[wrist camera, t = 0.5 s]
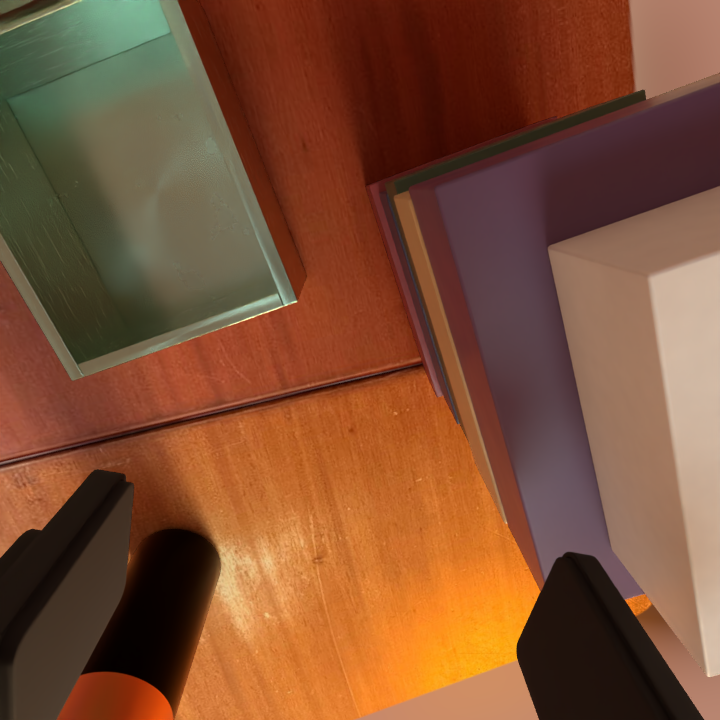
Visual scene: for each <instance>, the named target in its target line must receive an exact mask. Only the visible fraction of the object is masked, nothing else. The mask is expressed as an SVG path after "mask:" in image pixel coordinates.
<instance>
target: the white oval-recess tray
mask: <svg viewBox="0 0 720 720" xmlns="http://www.w3.org/2000/svg"><path fill="white" fill-rule="evenodd" d="M548 253H549V258H550V262H551V267H552V272H553V276H554V281H555V286H556V290H557V295H558V300H559V304H560V309H561V314H562V318H563V323H564V328H565V333H566V337H567V342H568V347H569V351H570V356H571V361H572V365H573V370H574V375H575V379H576V384H577V389H578V393H579V398H580V403H581V408H582V412H583V417H584V422H585V426H586V431H587V436H588V440H589V445H590V450H591V454H592V459H593V464H594V468H595V473H596V478H597V482H598V487H599V492H600V497H601V501H602V506H603V511H604V515H605V520H606V525H607V529H608V534H609V539H610V543H611V548H612V550H613V552H614V553H615V554H616V556H617V557H618V558H619V560H620V561H621V562H622V564H623V565H624V566H625V568H626V569H627V570H628V572H629V573H630V574H631V576H632V577H633V578H634V580H635V581H636V582H637V584H638V585H639V586H640V588H641V589H642V590H643V592H644V593H645V594H646V596H647V597H648V598H649V600H650V601H651V602H652V604H653V605H654V606H655V608H656V609H657V610H658V612H659V613H660V614H661V616H662V617H663V618H664V619H665V621H666V622H667V624H668V625H669V626H670V628H671V629H672V630H673V631H674V633H675V634H676V636H677V637H678V638H679V640H680V641H681V642H682V644H683V645H684V646H685V647H686V649H687V650H688V652H689V653H690V654H691V656H692V657H693V658H694V660H695V661H696V662H697V664H698V665H699V666H700V668H701V669H702V670H703V672H704V673H705V674H706V675H707V676H708V677H711V676H715V675H719V674H720V186H718V187H715V188H713V189H710V190H707V191H704V192H701V193H698V194H695V195H693V196H690V197H687V198H684V199H681V200H678V201H675V202H672V203H670V204H667V205H664V206H661V207H658V208H655V209H652V210H650V211H647V212H644V213H641V214H638V215H635V216H632V217H630V218H627V219H624V220H621V221H618V222H615V223H612V224H609V225H607V226H604V227H601V228H598V229H595V230H592V231H589V232H587V233H584V234H581V235H578V236H575V237H572V238H569V239H567V240H564V241H561V242H558V243H555V244H552V245H550V246H549V247H548Z"/></svg>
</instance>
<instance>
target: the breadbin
mask: <svg viewBox="0 0 720 720" xmlns="http://www.w3.org/2000/svg"><path fill="white" fill-rule="evenodd" d="M0 261H1V262H2V264H3V266H4V267H5V269H6V271H7V272H8V274H9V276H10V278H11V279H12V281H13V283H14V284H15V286H16V288H17V289H18V291H19V293H20V294H21V296H22V298H23V299H24V301H25V303H26V304H27V306H28V308H29V309H30V311H31V313H32V315H33V316H34V318H35V320H36V321H37V323H38V325H39V326H40V328H41V330H42V331H43V333H44V335H45V336H46V338H47V340H48V341H49V343H50V345H51V346H52V348H53V350H54V352H55V353H56V355H57V357H58V358H59V360H60V362H61V363H62V365H63V367H64V368H65V370H66V372H67V373H68V375H69V377H70V378H71V380H72V381H74V380H77V379H80V378H83V377H86V376H89V375H92V374H95V373H97V372H100V371H103V370H106V369H109V368H111V367H114V366H117V365H120V364H123V363H126V362H128V361H131V360H134V359H137V358H140V357H142V356H145V355H148V354H151V353H154V352H157V351H159V350H162V349H165V348H168V347H171V346H173V345H176V344H179V343H182V342H185V341H188V340H190V339H193V338H196V337H199V336H202V335H204V334H207V333H210V332H213V331H216V330H219V329H221V328H224V327H227V326H230V325H233V324H235V323H238V322H241V321H244V320H247V319H250V318H252V317H255V316H258V315H261V314H264V313H267V312H269V311H272V310H275V309H278V308H281V307H283V306H286V305H289V304H292V303H295V302H297V301H298V299H299V296H300V294H301V291H302V289H303V286H304V283H305V281H306V278H307V275H306V273H305V270H304V268H303V265H302V262H301V260H300V257H299V255H298V252H297V249H296V247H295V244H294V242H293V239H292V236H291V234H290V231H289V229H288V226H287V224H286V221H285V218H284V216H283V213H282V211H281V208H280V205H279V203H278V200H277V198H276V195H275V192H274V190H273V187H272V185H271V182H270V179H269V177H268V174H267V172H266V169H265V167H264V164H263V161H262V159H261V156H260V154H259V151H258V148H257V146H256V143H255V141H254V138H253V135H252V133H251V130H250V128H249V125H248V123H247V120H246V117H245V115H244V112H243V110H242V107H241V104H240V102H239V99H238V97H237V94H236V91H235V89H234V86H233V84H232V81H231V79H230V76H229V73H228V71H227V68H226V66H225V63H224V60H223V58H222V55H221V53H220V50H219V47H218V45H217V42H216V40H215V37H214V34H213V32H212V29H211V27H210V24H209V22H208V19H207V16H206V14H205V11H204V9H203V7H202V6H201V5H200V3H199V2H198V1H197V0H34V1H31V2H29V3H27V4H24V5H22V6H20V7H17V8H15V9H13V10H10V11H8V12H5V13H3V14H1V15H0Z"/></svg>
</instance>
